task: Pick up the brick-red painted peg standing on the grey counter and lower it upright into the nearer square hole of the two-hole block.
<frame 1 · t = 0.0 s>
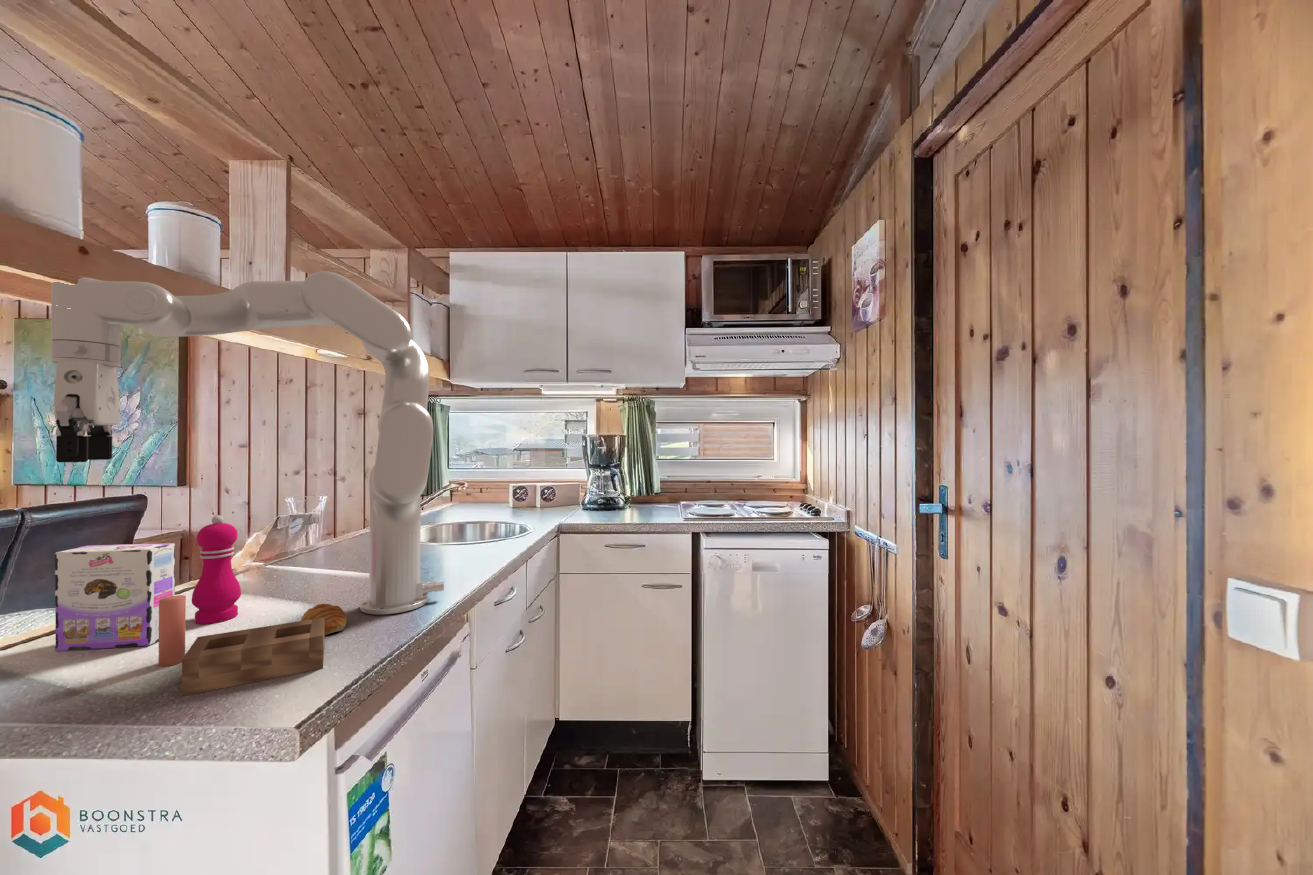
hand: (85, 460, 82), 31 cm above the countertop, fingers open, 9 cm apart
peg: (171, 662, 78), on the countertop
pastry: (326, 629, 93), on the countertop
hole block: (260, 668, 76), on the countertop
candy box: (117, 643, 86), on the countertop
pepper mill: (216, 619, 97), on the countertop
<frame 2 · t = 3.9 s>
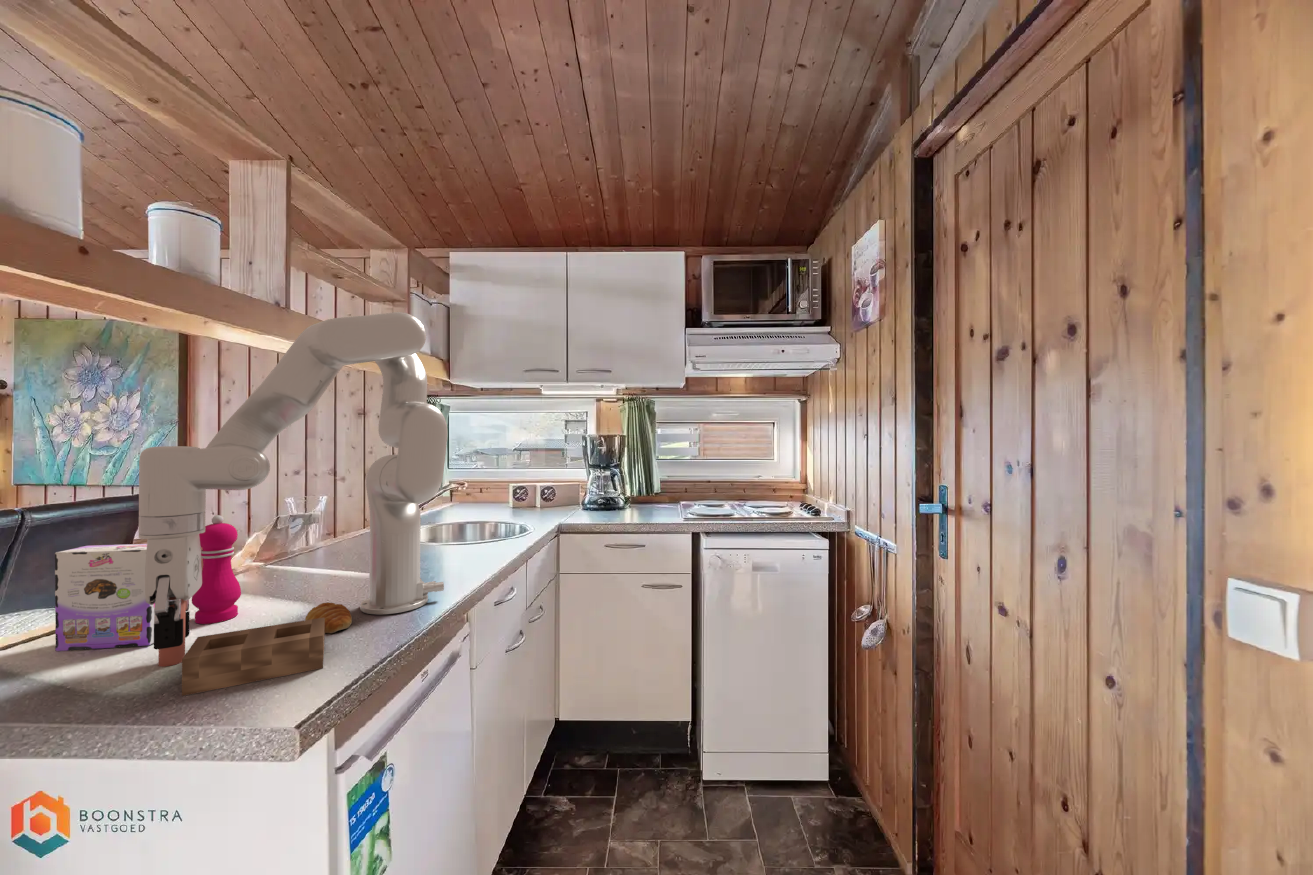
hand: (172, 641, 78), 3 cm above the countertop, fingers closed on peg, 3 cm apart
peg: (171, 662, 78), on the countertop, touching gripper
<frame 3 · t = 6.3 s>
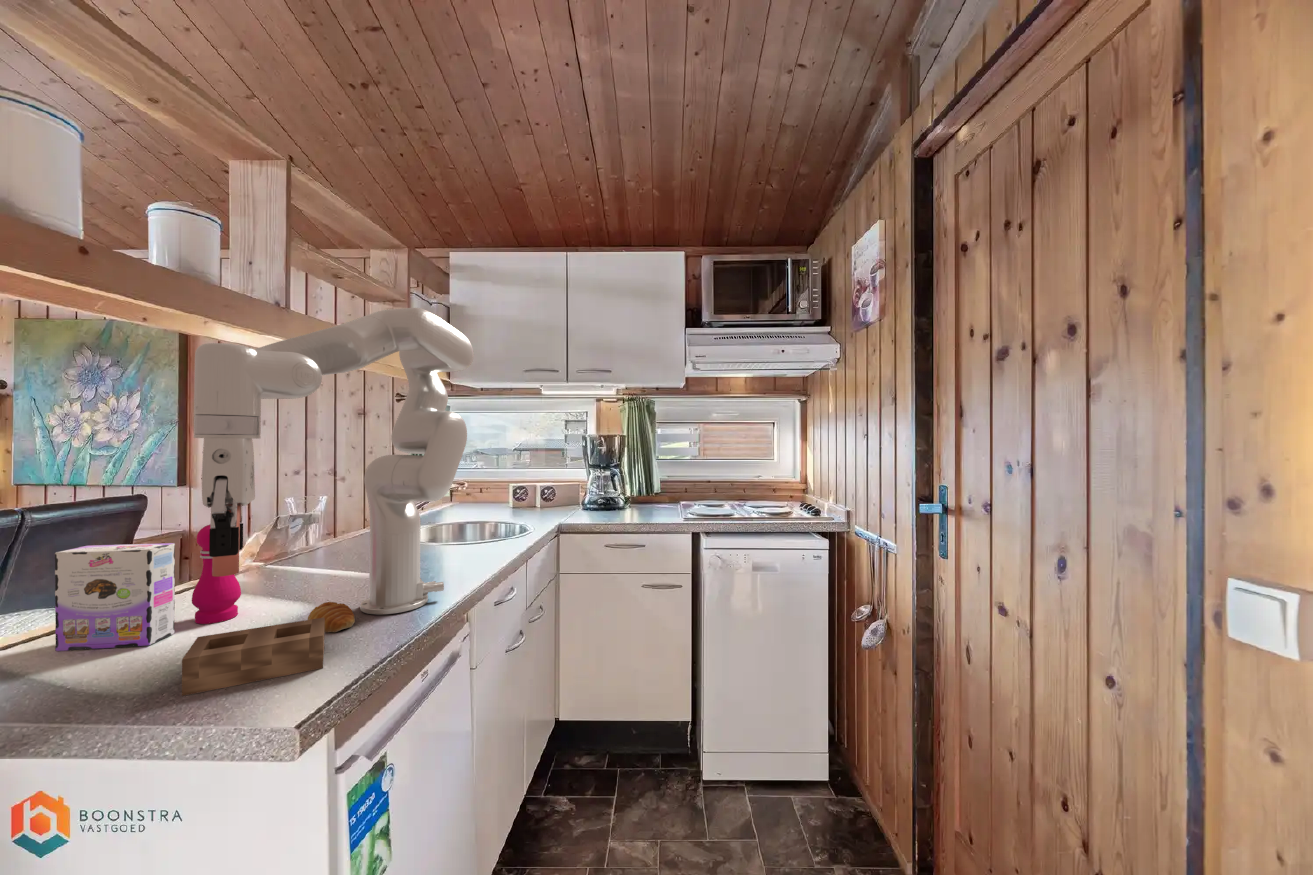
hand: (226, 551, 74), 18 cm above the countertop, fingers closed on peg, 3 cm apart
peg: (225, 573, 74), point 15 cm above the countertop, touching gripper
when the fingers open (7 cm above the countertop, at t = 8.9 s): peg drops 1 cm, resting on hole block.
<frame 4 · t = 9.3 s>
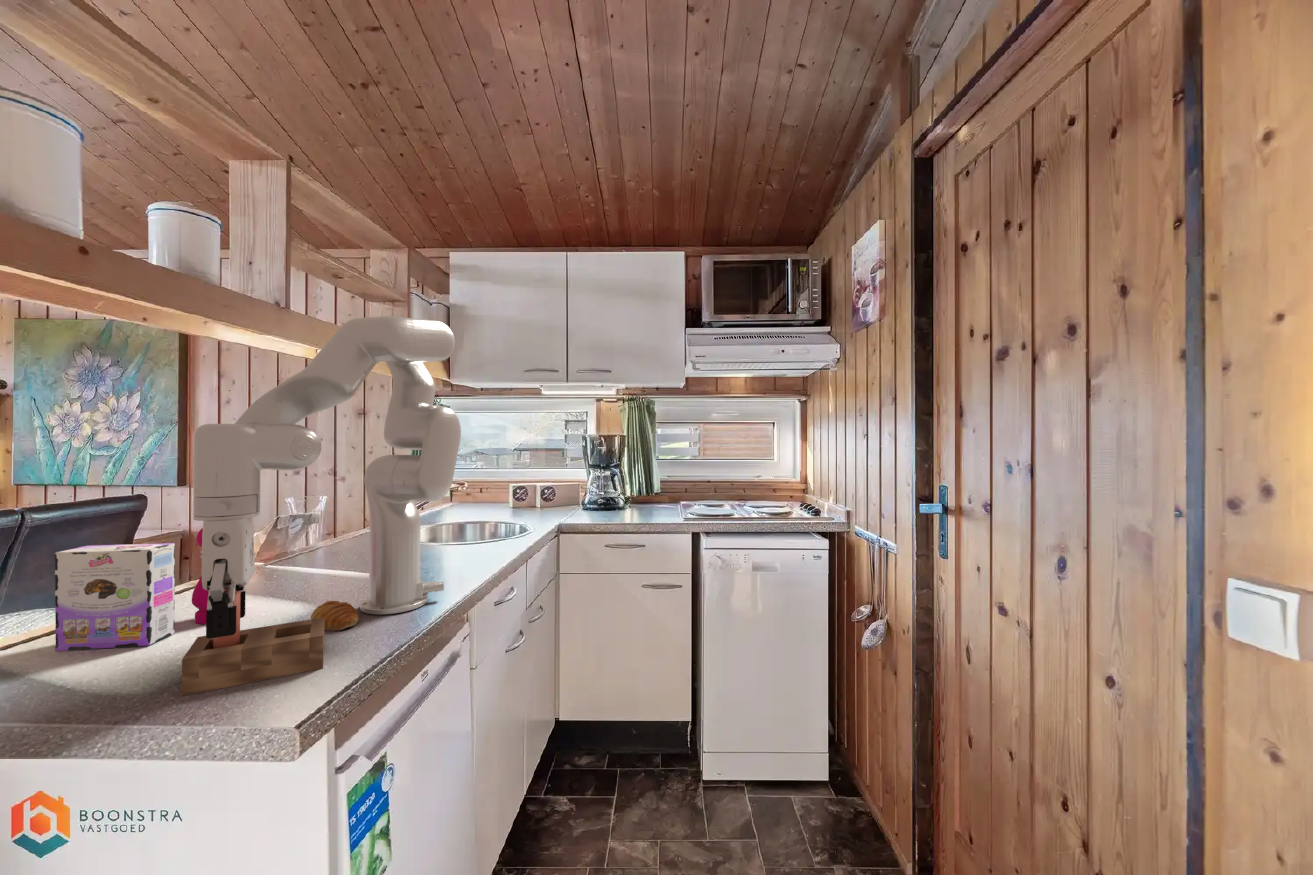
hand: (226, 626, 74), 7 cm above the countertop, fingers open, 7 cm apart
peg: (226, 661, 74), point 2 cm above the countertop, touching hole block
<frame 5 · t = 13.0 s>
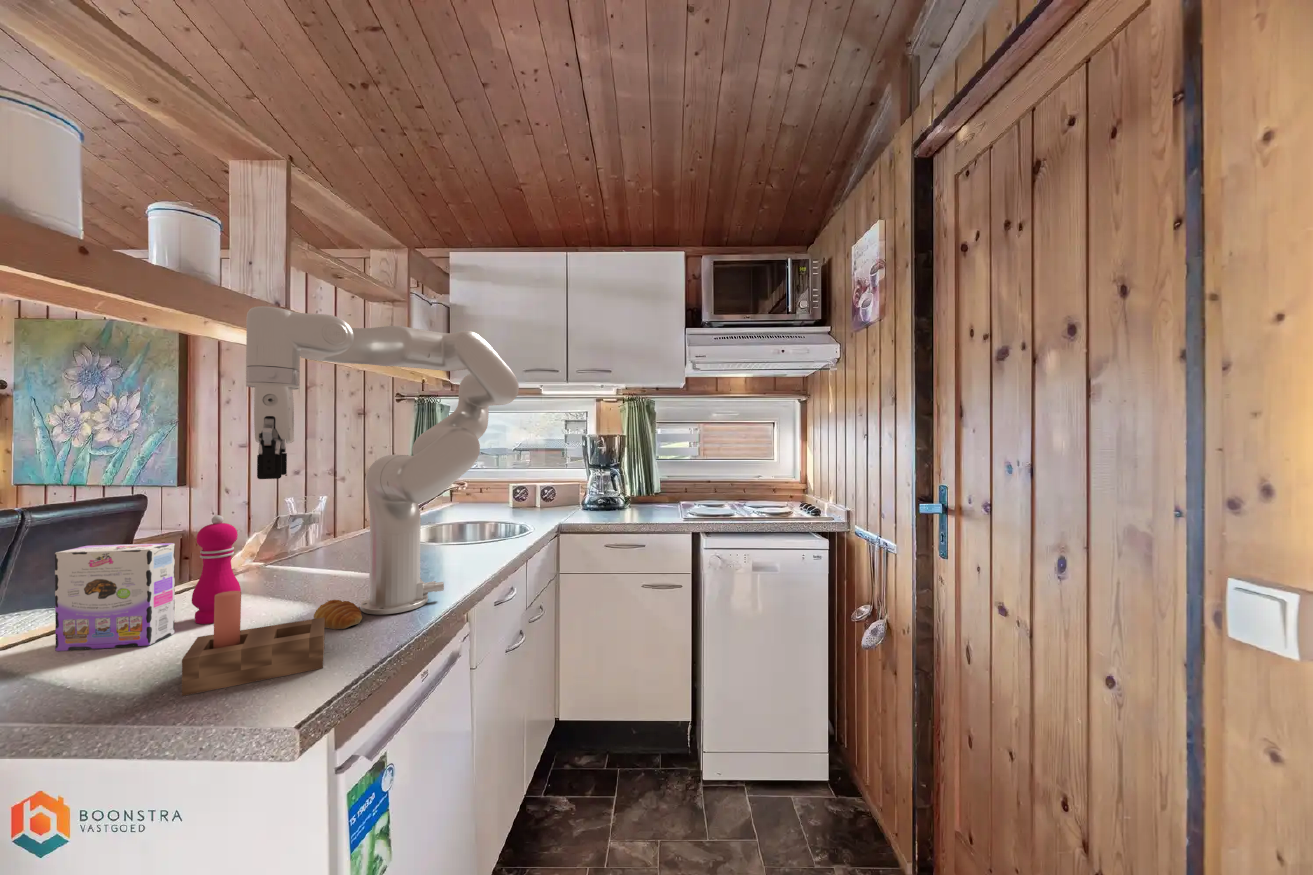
hand: (272, 476, 88), 28 cm above the countertop, fingers open, 9 cm apart
at the end: peg 0.2 cm from the target spot on the hole block, point 2.0 cm above the hole block's base; peg tilted 1°; the gripper is holding nothing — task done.
